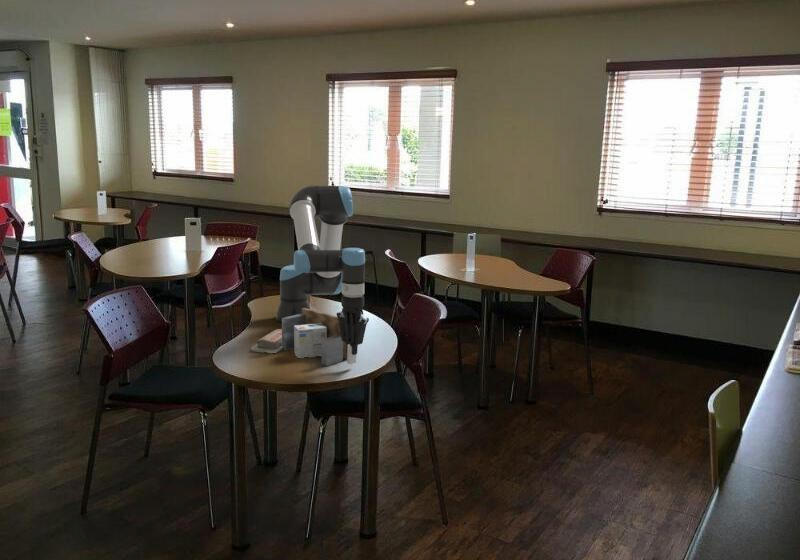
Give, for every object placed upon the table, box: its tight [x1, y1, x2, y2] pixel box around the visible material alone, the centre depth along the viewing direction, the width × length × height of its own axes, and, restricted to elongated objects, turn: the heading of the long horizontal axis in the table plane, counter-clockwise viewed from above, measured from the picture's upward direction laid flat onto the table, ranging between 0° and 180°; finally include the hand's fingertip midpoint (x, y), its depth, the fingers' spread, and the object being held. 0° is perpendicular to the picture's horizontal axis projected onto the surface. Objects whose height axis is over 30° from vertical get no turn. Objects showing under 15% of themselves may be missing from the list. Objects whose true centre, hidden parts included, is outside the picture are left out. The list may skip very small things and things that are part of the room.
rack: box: [281, 308, 347, 359], centre depth 237 cm, size 25×13×14 cm, turn 50°
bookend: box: [321, 335, 344, 367], centre depth 228 cm, size 2×8×9 cm, turn 140°
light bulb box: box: [293, 323, 327, 359], centre depth 236 cm, size 11×7×11 cm, turn 114°
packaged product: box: [250, 328, 282, 354], centre depth 246 cm, size 18×5×10 cm
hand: (351, 362), depth 223 cm, fingers closed
